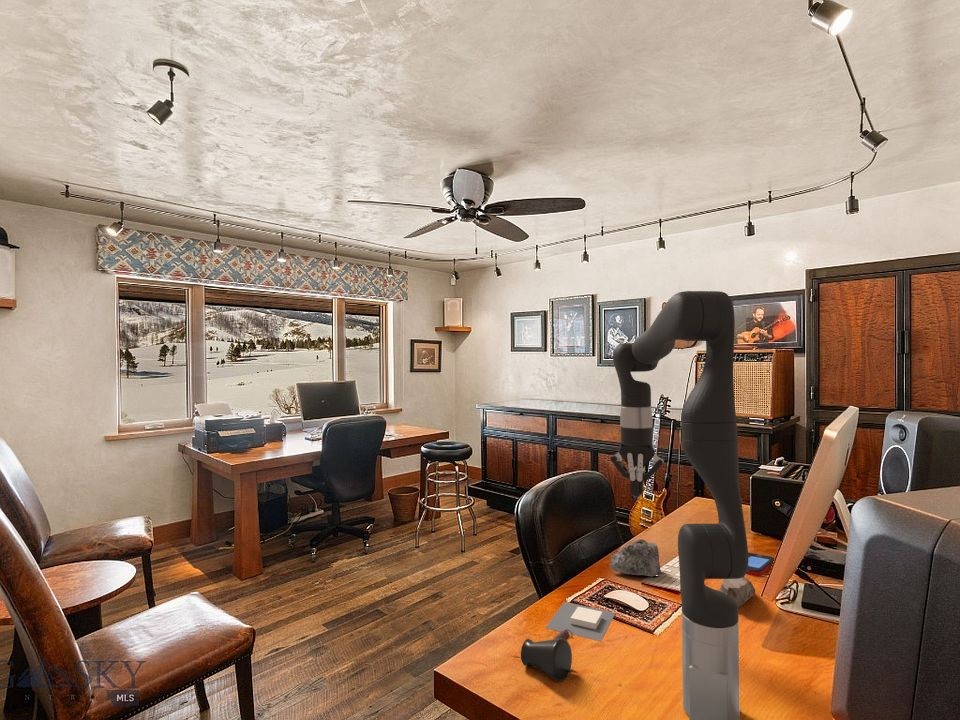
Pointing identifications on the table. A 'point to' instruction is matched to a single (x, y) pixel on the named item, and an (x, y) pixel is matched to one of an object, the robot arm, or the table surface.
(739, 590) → the stone
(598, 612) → the tile
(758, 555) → the game console
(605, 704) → the table surface
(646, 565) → the mineral rock
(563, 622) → the mat
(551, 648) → the coffee pot
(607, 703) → the table surface
